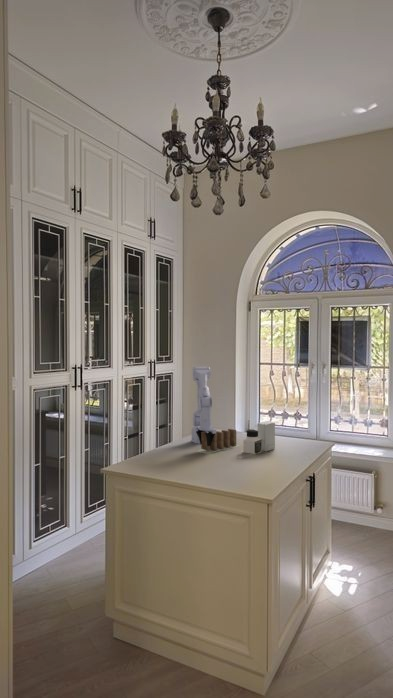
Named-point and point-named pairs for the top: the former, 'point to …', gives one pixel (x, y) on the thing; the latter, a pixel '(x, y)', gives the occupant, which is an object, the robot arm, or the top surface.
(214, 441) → the domino
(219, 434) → the domino
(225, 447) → the domino mat
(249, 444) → the medicine bottle
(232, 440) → the domino
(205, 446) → the end domino
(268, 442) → the skincare box
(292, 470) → the top surface
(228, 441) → the domino
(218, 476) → the top surface
